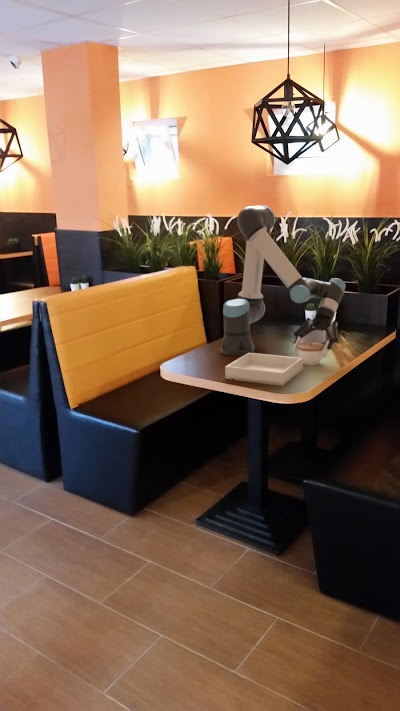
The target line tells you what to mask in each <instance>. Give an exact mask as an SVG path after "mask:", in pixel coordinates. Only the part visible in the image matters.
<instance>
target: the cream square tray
mask: <svg viewBox="0 0 400 711" xmlns="http://www.w3.org/2000/svg"><path fill="white" fill-rule="evenodd" d="M303 370H304V363H303V358H299V356H297V357H296V356H287V355H286V356H285V355H278V354H277V355H276V354H268V353H267V354H266V353H258V352H257V353H256V352H253V353H247V354H245V355H243V356H240V357H239V358H237V359H236V360H234V361H232V362H230V363H229V364H227V365H225V366H224V371H225V375H224V376H225V379H226V380H232V379H234V380H233V381H241V382H247V383H248V382H249V383H250V382H251V383H254V384H255V383H256V384H264V385H272V386H273V385H274V386H279V387H281V386H282V387H283V386H285V385H286V384H287V383H289V381H291V380H292V379H294V378H295V377H296V376H297V375H298V374H300V373H301V372H302V371H303ZM299 372H300V373H299Z"/></svg>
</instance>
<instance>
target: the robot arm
mask: <svg viewBox="0 0 400 711" xmlns="http://www.w3.org/2000/svg"><path fill="white" fill-rule="evenodd" d="M236 222H237V226H238V227H237V228H238V229H239V231H240V233H241V234H242V235H243V237H244V238H245V240H246V245H245V247H246V248H245V257H244V264H243V265H244V268H243V278H242V284H241V285H242V288H241V291H240V292H238V294H237V298H235V299H230V300H227V301H226V302H225V303H223V307H222V308H223V310H222V314H223V332H224V333H223V340H222V343H221V346H220V353H221V354H222V355H224V356H233V357H239V356H240V357H242V356H244V355H245V354H247V353H255V346H254V343H253V340H252V338H251V337H252V336H251V334H250V333H251V330H250V329H251V328H250V327H251V326H250V325H251V324H253V323H256V322H258V321H259V320H260V319H261V318H263V317H264V314H265V312H266V305H265V303H264V295H263V294H262V293H261V291H262V289H261V288H262V280H263V272H264V271H263V270H264V262H265V261H266V262H267V264H268V265H269V267H271V269H272V270H273V271H274V273H276V276H278V278H279V279H280V280H281V282H282V283H283V284H284V285H285V287H286V288H287V289H288V291H289V295H290V296H289V297H290V299H291V301H293V302H294V303H296V304H302V303H305V302H307V301H309V300H310V299H312V298H316V299H319V300H320V303H319V305H318V308H317V310H316V312H315V314H314V318H313V319H312V318H310V317H307V318H306V320H305V321H304V322H303V323H302V324H301V325H300V326H299V327H298V328H297V329H296V330H294V332H293V333H292V334H293V336H294V337H295V339H294V341H293V344H294V345H293V347H292V350H293V352H294V353H295V354H297V353H298V345H299V344H302V342H303V337H304V336H306V335H307V334H309V333H310V332H312V331H315V330H321V331H323V330H325V331H326V336H327V337H328V339H326V343H325V345H324V350H323V352H322V354H323V358H327V355H328V353H329V351H330V350H332V347H333V345H334V344H335V343H336V344H338V343H339V342H340V340H339V332H338V325H339V323H338V322H337V320H334V318H335V314H336V313H337V309H338V307H339V304H340V302H341V301H342V298H343V296H344V294H345V290H346V286H347V285H346V283H345V281H343V279H340V278H336V277H335V278H333V277H332V278H331V279H329V281H322V280H318V279H317V280H316V279H313V278H310V277H309V278H307V277H302V275H301V274H300V272H298V270H297V269H296V268H295V267H294V265H293V264H292V262H291V261H290V260H289V259H288V257H287V255H285V253H284V252H283V251H282V249H281V248H280V247H279V246H278V245H277V243H276V242H275V241H274V240H273V238H272V236H271V230H272V228H273V227H274V225H275V223H276V215H275V213H274V211H273V209H271V207H269V206H268V205H262V204H257V205H250V206H246V207H244V208H242V209H241V210H240V211H239V213H238V215H237V219H236ZM311 323H312V324H311ZM308 326H309V327H308ZM313 326H314V328H313ZM329 327H332V332H333V336H332V334H331V332H330V329H329Z"/></svg>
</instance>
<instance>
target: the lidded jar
mask: <svg viewBox="0 0 400 711" xmlns="http://www.w3.org/2000/svg"><path fill="white" fill-rule="evenodd" d="M324 347H325V345H324V343H322V344H320V343H312V342H310V343H304V342H301V344H299V345H298V351H297V353H298V358H303V365H305V366H317V365H319V363H320V362H321V361H322V360H323V358H324V356H323V354H322V352H323V350H324Z"/></svg>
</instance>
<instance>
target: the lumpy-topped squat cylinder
mask: <svg viewBox="0 0 400 711" xmlns="http://www.w3.org/2000/svg"><path fill="white" fill-rule="evenodd" d="M311 324H312V323H311ZM308 327H309V326H308ZM313 328H314V326H313ZM310 342H312V343H320V344H325V342H327V333H326V331H325V330H323V331H321V330H315V331H312V332H310V333H309V334H307V335H306V336H304V337H303V338H302V343H310Z"/></svg>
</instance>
